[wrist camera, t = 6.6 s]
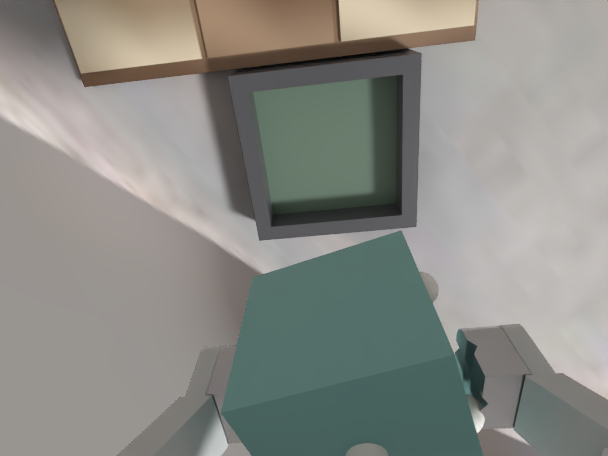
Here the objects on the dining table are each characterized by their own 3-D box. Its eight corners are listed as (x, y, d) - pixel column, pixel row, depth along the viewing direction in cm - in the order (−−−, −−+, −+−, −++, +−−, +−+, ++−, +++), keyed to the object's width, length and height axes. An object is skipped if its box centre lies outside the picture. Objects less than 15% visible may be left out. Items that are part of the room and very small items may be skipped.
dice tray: (235, 71, 24) (227, 76, 22) (411, 50, 24) (421, 53, 21) (263, 224, 30) (259, 240, 27) (408, 210, 29) (416, 226, 27)
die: (253, 277, 11) (216, 430, 7) (415, 225, 10) (486, 365, 6) (307, 378, 13) (304, 545, 9) (449, 341, 12) (520, 508, 8)
